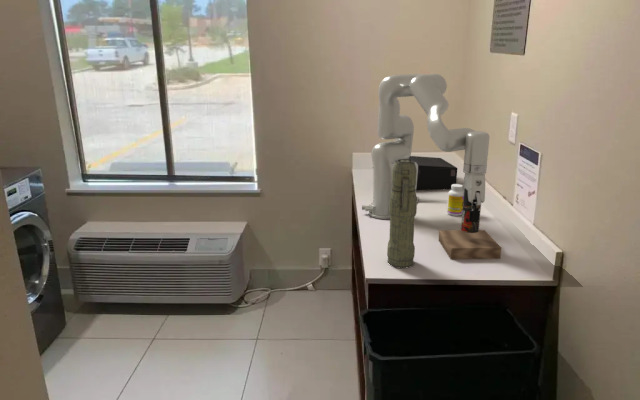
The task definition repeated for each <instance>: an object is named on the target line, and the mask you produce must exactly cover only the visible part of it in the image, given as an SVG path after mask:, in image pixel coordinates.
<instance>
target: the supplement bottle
mask: <svg viewBox="0 0 640 400" xmlns="http://www.w3.org/2000/svg"><path fill="white" fill-rule="evenodd" d="M447 195H448V197H447V206H446V207H447V208H446V210H447V211H446V213H447V214H448V215H449V216H454V217H459V216H460V217H461V216H462V212H463V200H464V195H463V184H461V183H460V184H459V183H456V184H452V185H451V189H449V191H448V192H447Z"/></svg>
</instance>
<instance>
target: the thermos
mask: <svg viewBox="0 0 640 400" xmlns="http://www.w3.org/2000/svg"><path fill="white" fill-rule="evenodd" d="M416 174H417V169H416V166H415V162H414V161H412V160H409V159H399V160H398V161H395V164H394V167H393V170H392V192H391V195H390V197H389V213H390V219H389V238H388V242H387V248H386V249H387V251H386V252H387V253H386V254H387V262H386V263H387V264H388V263H389V264H390V265H392V266H394V267H393V268H396V267H400V268H399V269H407V268H406V267H408V268H411V267H413V265H414V261H415V260H414V258H415V253H416V252H415V250H416V249H415V247H416V246H415V243H414V237H415V217H416V215H417V211H418V210H417V209H418V208H417V206H418V202H417V197H418V196H417V191H416V189H415V186H416ZM389 264H388V265H389ZM390 265H389V266H390ZM392 266H391V267H392ZM410 266H411V267H410Z"/></svg>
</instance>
